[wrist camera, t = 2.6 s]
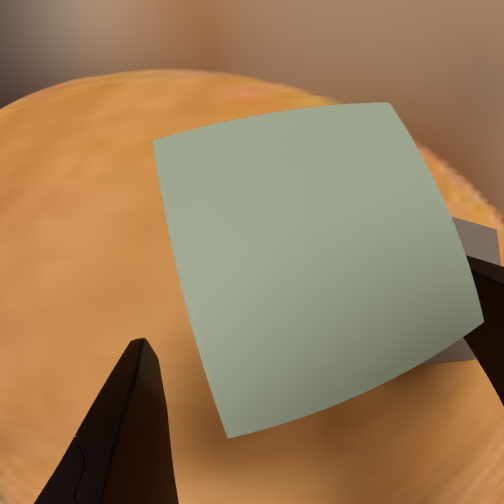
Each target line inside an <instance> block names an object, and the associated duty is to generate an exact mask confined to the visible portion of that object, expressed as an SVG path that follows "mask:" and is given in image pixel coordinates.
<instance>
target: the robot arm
mask: <svg viewBox="0 0 504 504" xmlns="http://www.w3.org/2000/svg"><path fill="white" fill-rule="evenodd" d="M466 257H467V260H468V264H469V267H470V270H471V273H472V276H473V280H474V283H475V287H476V290H477V294H478V298H479V302H480V306H481V310H482V315H483V319H484V322H483V323H482V324H481V325H479V326H478V327H476V328H475V329H474V330H472V331H471V332H469V333H468V334H467V335H465V336H464V337H463V338H464V340H465V341H466V343H467V344H468V346H469V347H470V349H471V350H472V352H473V354H474V355H475V357H476V358H477V360H478V362H479V363H480V365H481V366H482V368H483V370H484V371H485V373H486V375H487V376H488V378H489V380H490V382H491V383H492V385H493V387H494V389H495V390H496V392H497V394H498V396H499V398H500V400H501V402H502V404H503V406H504V267H503V266H500V265H496V264H493V263H490V262H487V261H484V260H481V259H477V258H474V257H471V256H468V255H466ZM75 436H76V437H74V438H73V440H72V442H71V443H70V445H69V447H68V449H67V451H66V453H65V454H64V456H63V458H62V460H61V461H60V463H59V465H58V466H57V468H56V470H55V471H54V473H53V474H52V476H51V478H50V479H49V481H48V482H47V484H46V485H45V487H44V488H43V490H42V492H41V493H40V495H39V496H38V498H37V499H36V501H35V503H34V504H179V502H178V496H177V490H176V483H175V477H174V469H173V461H172V453H171V444H170V434H169V424H168V413H167V405H166V400H165V394H164V389H163V383H162V377H161V371H160V365H159V360H158V357H157V355H156V354H155V352H154V351H153V349H152V347H151V346H150V344H149V342H148V341H147V340H146V339H145V338H139V339H134V340H132V341H131V342H130V343H129V345H128V346H127V348H126V349H125V351H124V353H123V354H122V356H121V357H120V359H119V361H118V362H117V364H116V365H115V367H114V369H113V370H112V372H111V374H110V375H109V377H108V379H107V380H106V382H105V384H104V385H103V387H102V389H101V390H100V392H99V394H98V396H97V397H96V399H95V401H94V402H93V404H92V406H91V408H90V409H89V411H88V413H87V415H86V416H85V418H84V420H83V422H82V424H81V425H80V427H79V429H78V431H77V433H76V434H75Z"/></svg>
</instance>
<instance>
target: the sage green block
mask: <svg viewBox="0 0 504 504" xmlns="http://www.w3.org/2000/svg"><path fill="white" fill-rule="evenodd" d="M153 145H154V152H155V159H156V165H157V172H158V178H159V183H160V189H161V195H162V200H163V206H164V211H165V216H166V221H167V226H168V231H169V236H170V240H171V245H172V250H173V254H174V259H175V263H176V267H177V272H178V276H179V280H180V284H181V288H182V292H183V296H184V300H185V304H186V308H187V311H188V315H189V319H190V323H191V326H192V330H193V333H194V337H195V340H196V344H197V347H198V351H199V354H200V357H201V361H202V364H203V367H204V370H205V374H206V377H207V380H208V383H209V386H210V389H211V392H212V395H213V398H214V401H215V404H216V407H217V410H218V413H219V416H220V419H221V421H222V424H223V427H224V430H225V432H226V435H227V438H228V439H229V438H233V437H237V436H241V435H245V434H249V433H253V432H257V431H261V430H264V429H268V428H271V427H274V426H278V425H281V424H284V423H287V422H290V421H293V420H296V419H299V418H302V417H305V416H308V415H311V414H314V413H316V412H319V411H322V410H324V409H327V408H329V407H332V406H334V405H337V404H339V403H342V402H344V401H347V400H349V399H351V398H354V397H356V396H358V395H360V394H363V393H365V392H367V391H369V390H371V389H373V388H375V387H378V386H380V385H382V384H384V383H386V382H388V381H390V380H392V379H394V378H395V377H397V376H399V375H401V374H403V373H405V372H407V371H409V370H410V369H412V368H414V367H416V366H417V365H419V364H421V363H423V362H424V361H426V360H428V359H429V358H431V357H433V356H434V355H436V354H438V353H439V352H441V351H443V350H444V349H446V348H447V347H449V346H450V345H452V344H453V343H455V342H456V341H458V340H459V339H461V338H462V337H464V336H465V335H467V334H468V333H469V332H471V331H472V330H474V329H475V328H476V327H478V326H479V325H481V324H482V323H483V322H484V319H483V315H482V310H481V306H480V302H479V298H478V294H477V290H476V287H475V283H474V280H473V276H472V273H471V270H470V267H469V264H468V260H467V257H466V255H465V252H464V249H463V246H462V243H461V240H460V238H459V235H458V232H457V230H456V227H455V225H454V222H453V220H452V217H451V215H450V213H449V210H448V208H447V206H446V203H445V201H444V199H443V197H442V195H441V193H440V190H439V188H438V186H437V184H436V182H435V180H434V178H433V176H432V174H431V172H430V170H429V168H428V166H427V164H426V163H425V161H424V159H423V157H422V155H421V153H420V152H419V150H418V148H417V146H416V145H415V143H414V141H413V139H412V138H411V136H410V134H409V133H408V131H407V130H406V128H405V126H404V125H403V123H402V121H401V120H400V118H399V117H398V115H397V114H396V112H395V111H394V109H393V108H392V106H391V105H390V103H389V102H383V103H358V104H343V105H331V106H321V107H311V108H303V109H295V110H288V111H281V112H275V113H268V114H263V115H257V116H251V117H246V118H241V119H236V120H231V121H226V122H222V123H217V124H213V125H209V126H205V127H201V128H197V129H193V130H189V131H185V132H181V133H178V134H174V135H170V136H167V137H164V138H160V139H157V140H154V141H153Z"/></svg>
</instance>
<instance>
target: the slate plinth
mask: <svg viewBox="0 0 504 504" xmlns="http://www.w3.org/2000/svg"><path fill="white" fill-rule="evenodd" d="M452 220H453V222H454V225H455V227H456V230H457V232H458V235H459V238H460V240H461V243H462V246H463V249H464V252H465V255H468V256H471V257H474V258H477V259H481V260H484V261H487V262H490V263H493V264H496V265H500V266H501V262H500V252H499V243H498V236H497V230H496V229H492V228H489V227H486V226H482V225H479V224H475V223H472V222H468V221H465V220H461V219H458V218H454V217H452ZM473 359H477V358H476V357H475V355H474V354H473V352H472V350H471V349H470V347H469V346H468V344H467V343H466V341H465V340H464V338H463V337H462V338H461V339H459V340H458V341H456V342H455V343H453V344H452V345H450V346H449V347H447V348H446V349H444V350H443V351H441V352H439V353H438V354H436V355H434V356H433V357H431V358H429V359H428V360H426V361H424V362H423V363H421V364H431V363H444V362H455V361H465V360H473Z"/></svg>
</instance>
